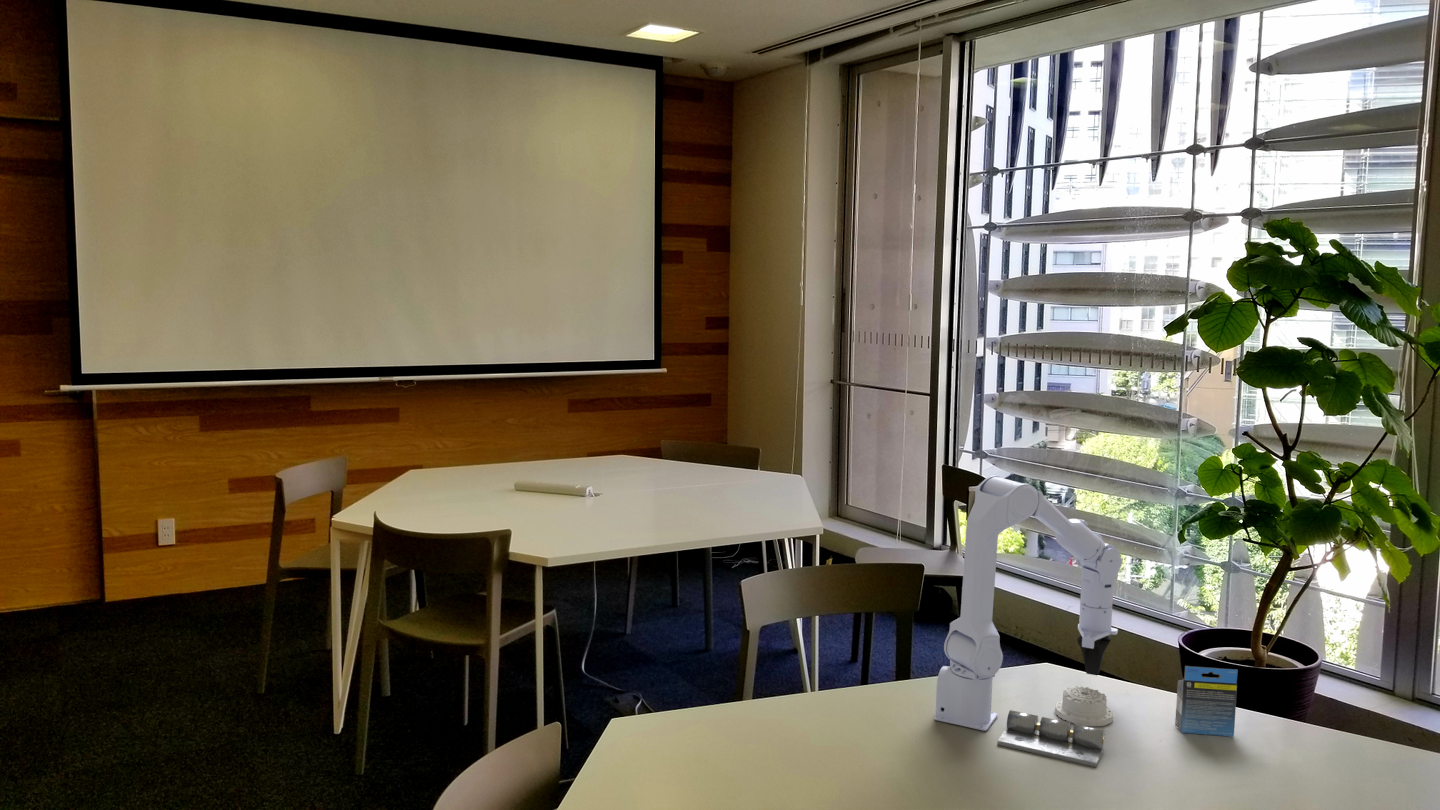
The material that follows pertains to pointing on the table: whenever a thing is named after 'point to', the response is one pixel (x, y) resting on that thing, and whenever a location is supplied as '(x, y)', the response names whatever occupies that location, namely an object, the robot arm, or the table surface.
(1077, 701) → the mechanical component
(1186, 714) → the blue ink cartridge box
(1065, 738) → the hinge leaf
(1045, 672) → the table surface
